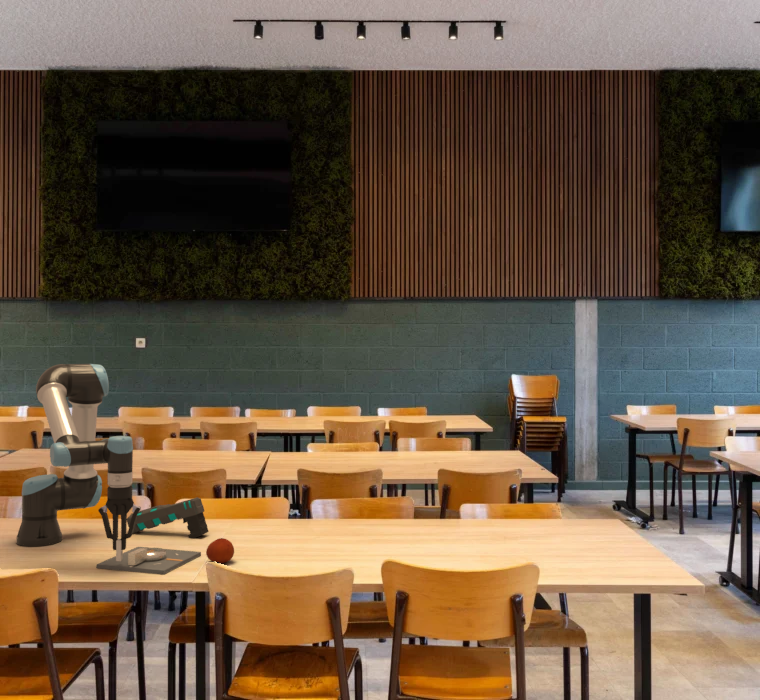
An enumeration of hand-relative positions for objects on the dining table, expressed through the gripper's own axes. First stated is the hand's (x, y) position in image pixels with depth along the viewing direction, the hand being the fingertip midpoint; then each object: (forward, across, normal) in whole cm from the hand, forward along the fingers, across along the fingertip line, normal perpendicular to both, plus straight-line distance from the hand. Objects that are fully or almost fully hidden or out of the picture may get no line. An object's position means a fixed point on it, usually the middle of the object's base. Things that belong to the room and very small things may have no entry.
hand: (119, 560), depth 257 cm
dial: (+2, +7, +6) cm, 9 cm away
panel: (+3, +8, +8) cm, 12 cm away
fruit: (+3, +31, +6) cm, 31 cm away
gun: (+3, +8, +47) cm, 48 cm away
